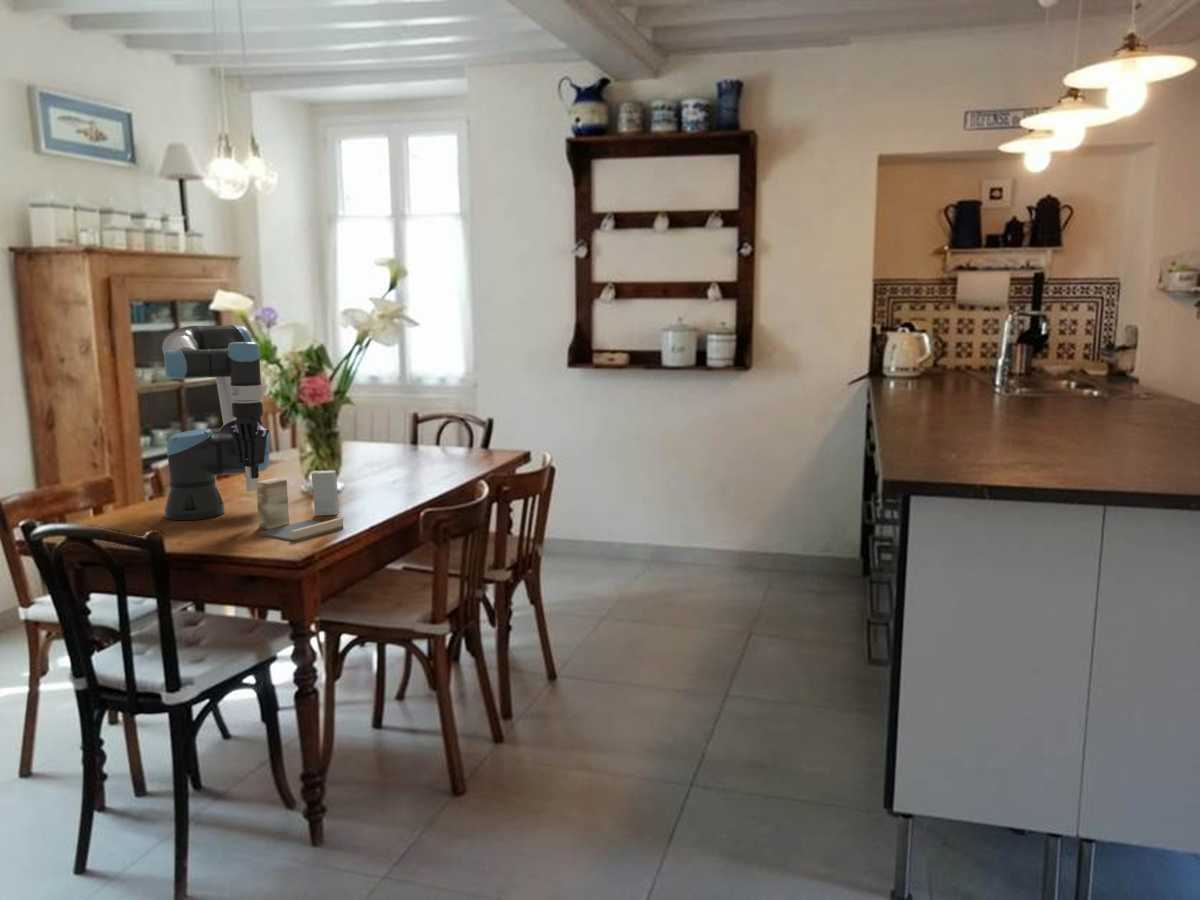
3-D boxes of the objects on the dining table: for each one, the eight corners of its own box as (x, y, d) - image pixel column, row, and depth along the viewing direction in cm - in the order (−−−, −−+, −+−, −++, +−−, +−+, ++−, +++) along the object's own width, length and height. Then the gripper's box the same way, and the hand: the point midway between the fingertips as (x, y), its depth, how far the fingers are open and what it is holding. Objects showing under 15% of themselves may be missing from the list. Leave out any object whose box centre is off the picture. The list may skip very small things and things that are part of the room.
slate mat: (259, 535, 230) (258, 525, 230) (308, 522, 244) (308, 512, 243) (294, 541, 224) (293, 531, 223) (343, 528, 237) (342, 518, 237)
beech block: (258, 527, 238) (256, 482, 236) (277, 523, 243) (274, 478, 241) (270, 530, 235) (267, 483, 233) (289, 525, 240) (286, 480, 238)
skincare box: (339, 512, 256) (337, 469, 254) (336, 515, 251) (334, 472, 249) (316, 512, 255) (314, 470, 253) (313, 516, 250) (311, 473, 249)
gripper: (218, 401, 238) (224, 490, 241) (251, 403, 231) (257, 494, 235) (243, 399, 244) (248, 485, 248) (275, 401, 237) (280, 489, 241)
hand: (252, 489), depth 241 cm, fingers closed
